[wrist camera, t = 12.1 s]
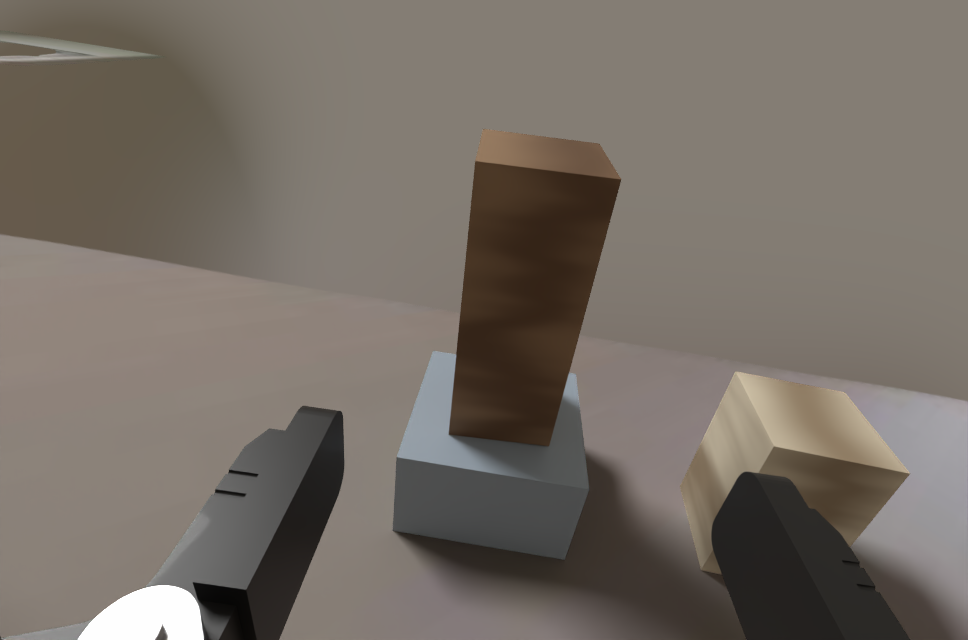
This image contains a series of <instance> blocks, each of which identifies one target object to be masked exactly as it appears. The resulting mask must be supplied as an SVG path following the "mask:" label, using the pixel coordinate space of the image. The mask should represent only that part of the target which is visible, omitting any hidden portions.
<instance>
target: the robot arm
mask: <svg viewBox="0 0 968 640" xmlns="http://www.w3.org/2000/svg"><path fill="white" fill-rule="evenodd" d="M343 473H344V435H343V415H342V412H341V411H336V410H329V409H322V408H315V407H309V406H302V407H301V408H300V409H299V410H298V411H297V413H296V414H295V416H294V418H293V419H292V421H291V423H290V424H289V426H288V427H287V429H286V431H283V430H276V429H268V430H267V431H265V432H264V433H263V434H261V435H260V436H259V437H257V438H256V439H254V440H253V441H252V442H250V443H249V444H248V445H246V446H245V447H244V449H243V450H242V452H241V453H240V455H239V456H238V457H237V459H236V460H235V462H234V463H233V465H232V466H231V467H230V469H229V473H228V474H226V475H225V476H224V478H223V479H222V480H221V482H220V483H219V485H218V486H217V488H216V489H215V493H214V495H213V494H212V495H211V496H210V498H209V499H208V501H207V502H206V504H205V505H204V506H203V508H202V509H201V511H200V512H199V514H198V515H197V517H196V518H195V519H194V521H193V522H192V524H191V525H190V527H189V528H188V530H187V531H186V532H185V534H184V535H183V537H182V538H181V540H180V541H179V543H178V544H177V545H176V547H175V548H174V550H173V551H172V553H171V554H170V555H169V557H168V558H167V560H166V561H165V563H164V564H163V566H162V567H161V568H160V570H159V571H158V573H157V574H156V575H155V577H154V578H153V579H152V580H151V581H150V582H149V583H148V584H147V586H146V587H145V588H144V589H142V590H139V591H136V592H134V593H132V594H130V595H128V596H125V597H124V598H122V599H120V600H118V601H117V602H115V603H114V604H112V605H111V606H109V607H108V608H107V609H105V610H104V611H103V612H102V613H101V614H100V615H99V616H97V617H96V618H95V619H92V620H90V621H87V622H83V623H79V624H75V625H70V626H64V627H59V628H53V629H48V630H43V631H37V632H32V633H26V634H21V635H15V636H10V637H5V638H1V637H0V640H279V638H280V636H281V634H282V631H283V629H284V626H285V624H286V621H287V619H288V616H289V614H290V612H291V609H292V607H293V604H294V602H295V599H296V597H297V595H298V592H299V590H300V587H301V585H302V582H303V580H304V577H305V575H306V573H307V570H308V568H309V565H310V563H311V560H312V558H313V556H314V553H315V551H316V548H317V546H318V543H319V541H320V538H321V536H322V534H323V531H324V529H325V526H326V524H327V521H328V519H329V517H330V514H331V512H332V509H333V507H334V504H335V502H336V499H337V497H338V494H339V491H340V488H341V484H342V479H343ZM711 541H712V547H713V551H714V554H715V557H716V560H717V562H718V565H719V568H720V570H721V573H722V576H723V578H724V581H725V584H726V586H727V589H728V591H729V594H730V597H731V599H732V602H733V605H734V607H735V610H736V613H737V615H738V618H739V621H740V623H741V626H742V628H743V631H744V634H745V636H746V639H747V640H910V639H909V637H908V636H907V634H906V632H905V631H904V629H903V628H902V626H901V625H900V623H899V622H898V620H897V619H896V617H895V616H894V614H893V613H892V611H891V610H890V608H889V607H888V605H887V603H886V602H885V600H884V599H883V597H882V596H881V594H880V593H878V592H876V591H875V585H874V584H873V582H872V581H871V579H870V577H869V576H868V574H867V573H866V571H865V570H864V568H860V566H859V563H860V562H859V561H858V559H857V558H856V556H855V555H854V553H853V551H852V550H851V548H850V547H849V545H848V544H847V542H846V541H845V539H844V538H843V536H842V535H841V534H840V533H839V532H838V531H837V530H836V529H835V528H834V527H833V526H832V525H831V524H830V523H829V522H828V521H827V520H826V519H825V518H824V517H823V516H822V515H821V514H820V513H819V512H818V511H817V510H816V509H811V508H809V507H808V505H807V504H806V502H805V501H804V499H803V497H802V496H801V494H800V493H799V491H798V489H797V488H796V486H795V485H794V483H793V482H792V481H791V480H790V479H788V478H786V477H782V476H775V475H768V474H761V473H754V472H743V473H741V474H740V475H739V477H738V478H737V480H736V482H735V483H734V485H733V487H732V489H731V491H730V492H729V494H728V496H727V498H726V499H725V501H724V503H723V505H722V507H721V508H720V510H719V512H718V514H717V515H716V517H715V519H714V521H713V525H712V531H711Z"/></svg>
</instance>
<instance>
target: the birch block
mask: <svg viewBox="0 0 968 640" xmlns="http://www.w3.org/2000/svg"><path fill="white" fill-rule="evenodd" d="M743 472H754V473H761V474H768V475H775V476H782V477H786V478H788V479H790V480H791V481H792V482H793V483H794V485H795V486H796V488H797V489H798V491H799V493H800V494H801V496H802V497H803V499H804V501H805V502H806V504H807V505H808V507H809V508H811V509H816V510H817V511H818V512H819V513H820V514H821V515H822V516H823V517H824V518H825V519H826V520H827V521H828V522H829V523H830V524H831V525H832V526H833V527H834V528H835V529H836V530H837V531H838V532H839V533H840V534H841V535H842V536H843V538H844V539H845V541H846V542H847V544H848V545H849V547H851V545H852V544H853V543H854V542H855V540H856V539H857V538H858V537H859V536H860V534H861V533H862V532H863V531H864V529H865V528H866V527H867V526H868V525H869V523H870V522H871V521H872V520H873V518H874V517H875V516H876V515H877V514H878V512H879V511H880V510H881V509H882V507H883V506H884V505H885V504H886V503H887V501H888V500H889V499H890V498H891V496H892V495H893V494H894V493H895V492H896V490H897V489H898V488H899V487H900V485H901V484H902V483H903V482H904V481H905V479H906V478H907V477H908V476H909V474H910V473H909V472H908V470H907V469H906V468H905V467H904V465H903V464H902V463H901V462H900V460H899V459H898V458H897V457H896V455H895V454H894V453H893V452H892V450H891V449H890V448H889V447H888V445H887V444H886V443H885V442H884V440H883V439H882V438H881V437H880V436H879V434H878V433H877V432H876V431H875V429H874V428H873V427H872V426H871V424H870V423H869V422H868V421H867V419H866V418H865V417H864V416H863V414H862V413H861V412H860V411H859V409H858V408H857V407H856V406H855V404H854V403H853V402H852V401H851V399H850V398H849V397H848V396H847V395H846V393H845V392H840V391H835V390H830V389H825V388H819V387H814V386H809V385H804V384H798V383H793V382H788V381H783V380H777V379H772V378H767V377H762V376H756V375H751V374H746V373H741V372H735V374H734V376H733V378H732V380H731V382H730V384H729V386H728V388H727V390H726V392H725V394H724V396H723V398H722V400H721V403H720V405H719V407H718V409H717V411H716V413H715V415H714V417H713V419H712V421H711V423H710V425H709V427H708V429H707V432H706V434H705V436H704V438H703V440H702V442H701V444H700V446H699V448H698V450H697V452H696V454H695V456H694V459H693V461H692V463H691V465H690V467H689V469H688V471H687V473H686V475H685V477H684V479H683V481H682V483H681V485H680V489H681V493H682V497H683V501H684V505H685V509H686V513H687V517H688V521H689V525H690V529H691V533H692V536H693V540H694V544H695V548H696V552H697V556H698V560H699V564H700V568H701V570H703V571H707V572H712V573H716V574H721V575H722V573H721V570H720V568H719V565H718V562H717V560H716V557H715V554H714V551H713V547H712V541H711V531H712V525H713V521H714V519H715V517H716V515H717V514H718V512H719V510H720V508H721V507H722V505H723V503H724V501H725V499H726V498H727V496H728V494H729V492H730V491H731V489H732V487H733V485H734V483H735V482H736V480H737V478H738V477H739V475H740V474H741V473H743Z"/></svg>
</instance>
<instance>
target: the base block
mask: <svg viewBox="0 0 968 640" xmlns="http://www.w3.org/2000/svg"><path fill="white" fill-rule="evenodd" d="M455 364H456V354H450V353H444V352H437V351H433V353H432V356H431V359H430V362H429V365H428V368H427V371H426V373H425V376H424V379H423V382H422V385H421V388H420V391H419V394H418V397H417V400H416V402H415V405H414V408H413V411H412V414H411V417H410V420H409V423H408V426H407V429H406V432H405V434H404V437H403V440H402V443H401V446H400V449H399V452H398V455H397V461H396V480H395V499H394V518H393V531H398V532H404V533H410V534H416V535H421V536H427V537H433V538H439V539H445V540H451V541H457V542H463V543H468V544H474V545H480V546H486V547H492V548H498V549H504V550H510V551H515V552H521V553H527V554H533V555H539V556H545V557H551V558H556V559H562V560H565V557H566V554H567V552H568V549H569V546H570V543H571V540H572V537H573V534H574V532H575V529H576V526H577V523H578V520H579V517H580V515H581V512H582V509H583V506H584V503H585V500H586V497H587V495H588V492H589V483H588V474H587V466H586V457H585V449H584V440H583V431H582V423H581V414H580V406H579V397H578V389H577V380H576V374H572V373H569V375H568V378H567V382H566V386H565V389H564V393H563V397H562V401H561V404H560V408H559V412H558V415H557V419H556V423H555V426H554V430H553V434H552V438H551V441H550V445H549V446H542V445H534V444H525V443H517V442H508V441H499V440H491V439H482V438H473V437H465V436H456V435H449V425H450V415H451V404H452V394H453V384H454V374H455Z"/></svg>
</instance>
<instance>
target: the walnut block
mask: <svg viewBox="0 0 968 640" xmlns="http://www.w3.org/2000/svg"><path fill="white" fill-rule="evenodd" d="M620 182H621V178H620V177H619V175H618V173H617V172H616V170H615V169H614V167H613V165H612V164H611V162H610V160H609V159H608V157H607V156H606V154H605V152H604V151H603V149H602V147H601V146H600V144H597V143H589V142H581V141H574V140H566V139H558V138H549V137H542V136H534V135H527V134H518V133H511V132H502V131H495V130H487V129H483V132H482V136H481V140H480V144H479V148H478V152H477V156H476V161H475V170H474V181H473V190H472V200H471V212H470V221H469V231H468V242H467V251H466V262H465V272H464V282H463V293H462V303H461V313H460V323H459V333H458V343H457V353H456V364H455V374H454V384H453V394H452V404H451V415H450V425H449V435H456V436H465V437H473V438H482V439H491V440H499V441H508V442H517V443H525V444H534V445H542V446H549V445H550V441H551V438H552V434H553V430H554V426H555V423H556V419H557V415H558V412H559V408H560V404H561V401H562V397H563V393H564V389H565V386H566V382H567V378H568V375H569V371H570V367H571V363H572V360H573V356H574V352H575V349H576V345H577V341H578V338H579V334H580V330H581V326H582V322H583V319H584V315H585V312H586V308H587V304H588V301H589V297H590V293H591V289H592V286H593V282H594V278H595V274H596V271H597V267H598V263H599V260H600V256H601V252H602V249H603V245H604V241H605V238H606V234H607V230H608V226H609V223H610V219H611V215H612V212H613V208H614V204H615V201H616V197H617V193H618V189H619V186H620Z"/></svg>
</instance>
